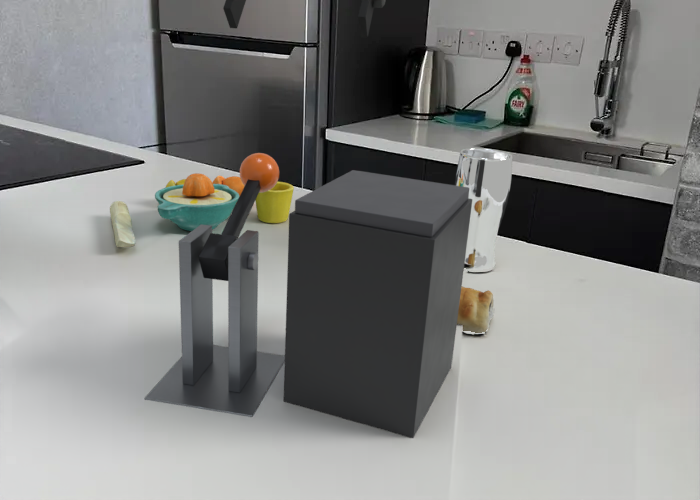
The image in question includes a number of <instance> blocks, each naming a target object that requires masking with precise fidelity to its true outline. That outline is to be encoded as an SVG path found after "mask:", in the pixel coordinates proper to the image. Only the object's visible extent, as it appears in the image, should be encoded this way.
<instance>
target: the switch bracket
mask: <svg viewBox="0 0 700 500" xmlns="http://www.w3.org/2000/svg"><path fill="white" fill-rule="evenodd" d="M210 233H213V229H212V226H210V225H200V226H198V227H197V228H196V229H194V230H193V231H189V233H188V234H185V235H184V237H182V238H180V239H179V240H178V262H179V263H178V265H179V266H178V267H179V302H180V336H181V337H180V338H181V339H180V340H181V356H180V357H179V358H178V360H177V361H176V362H175V363H174V364H173V365H172V367H171V368H169V370H168V371H167V372H166V374H164V376H163V377H162V378H161V379H160V380H159V381H158V382H157V383H156V384H155V386H154V387H153V388H152V389H151V390H150V391H149V393H148V394H147V395H146V396H145V397H144V400H145V401H151V402H157V403H163V404H170V405H175V406H182V407H186V408H187V407H188V408H193V409H194V408H195V409H199V410H204V411H205V410H206V411H213V412H218V413H224V414H229V415H235V416H241V417H248V418H253V417H254V415H255V413H256V412H257V410H258V409H259V406H260V405H261V403H262V401H263V400H264V398H265V396H266V395H267V393H268V391H269V389H270V388H271V386H272V385H273V382H274V380H275V379H276V378H277V376H278V374H279V372H280V370H281V368H282V367H283V365H284V364H285V354H278V353H271V352H270V353H269V352H265V351H258V300H259V299H258V297H259V292H258V291H259V287H258V286H259V235H260V234H259V231H258V230H251V229H247V230H245V231H244V232H243V233H242V234H240V235H239V237H238V239H237V240H236V241H235V242H233V243H232V244H231V245H230V246H229V247H228V281H227V282H228V284H227V285H228V287H227V288H228V289H227V292H228V295H227V298H228V299H227V301H228V303H227V304H228V305H227V307H228V308H227V311H228V312H227V315H228V319H227V320H228V321H227V324H228V327H227V329H228V334H227V335H228V336H227V337H228V345H227V346H226V345H225V346H224V345H217V344H216V345H215V344H214V309H213V308H214V302H213V301H214V300H213V298H214V297H213V296H214V291H213V290H214V288H213V279H208V278H204V277H203V273H202V269H201V265H200V262H199V258H198V257H199V255H200V253H201V251H202V249H203V247H204V245H205V243H206V241H207V239H208V237H209V235H210Z"/></svg>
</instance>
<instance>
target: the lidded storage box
mask: <svg viewBox="0 0 700 500" xmlns="http://www.w3.org/2000/svg"><path fill="white" fill-rule="evenodd" d="M468 196H469V188H468V187H462V186H455V184H448V183H443V182H442V183H441V182H436V181H435V182H434V181H428V180H421V179H414V178H409V177H401V176H395V175H389V174H381V173H377V172H369V171H363V170H355V169H352V170H350V171H349V172H346V173H344V174H343V175H341V176H339V177H337V178H334V179H333V180H331V181H329V182H327V183H325V184H323V185H322V186H319V187H318V188H315V189H313V190H312V191H310V192H308V193H306V194H304V195H302V196H300V197H299V198H297V199H295V200H294V201H295V203H294V210H293V211H291V212H289V216H288V243H287V270H286V271H287V275H286V276H287V277H286V304H285V305H286V306H285V307H286V308H285V309H286V312H285V341H284V355H285V362H284V371H283V372H284V374H283V403H285V404H287V403H288V404H290V405H293V406H298V407H301V408H305V409H308V410H312V411H315V412H318V413H322V414H326V415H329V416H334V417H336V418H340V419H343V420H347V421H350V422H354V423H356V424H357V423H358V424H361V425H364V426H368V427H372V428H374V429H379V430H382V431H386V432H390V433H393V434H396V435H400V436H403V437H407V438H410V439H414V438H415V436H416V434H417V433H418V431H419V429H420V427H421V425H422V424H423V422H424V419H425V417H426V416H427V415H428V412H429V410H430V408H431V406H432V404H433V403H434V400H435V399H436V397H437V395H438V393H439V391H440V390H441V387H442V386H443V384H444V382H445V380H446V378H447V376H448V375H449V373H450V371H451V369H452V365H453V359H454V357H453V356H454V350H455V340H456V334H457V333H456V332H457V327H458V326H457V325H458V324H457V318H458V310H459V302H460V294H461V287H462V285H463V278H464V271H465V270H464V263H465V255H466V247H467V239H468V231H469V223H470V215H471V207H472V199H469V198H468Z"/></svg>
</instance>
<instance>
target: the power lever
mask: <svg viewBox="0 0 700 500" xmlns="http://www.w3.org/2000/svg"><path fill="white" fill-rule="evenodd" d="M239 167H240V168H239V177H240V178H241V181H242V183H243V184H244V188H243V191H242V193H241V195H240V197H239V199H238V201H237V203H236V204H235V206H234V208H233V210H232V212H231V214H230V216H229V217H228V218H227V221H226V224H225V226H224V228H223V230H222V232H221V233H213V232H212V233H210V235H209V237H208V239H207V241H206V243H205V245H204V247H203V249H202V251H201V253H200V255H199V257H198V258H199V262H200V265H201V269H202V273H203V277H204V278H208V279H212V280H217V281H224V282H228V247H229V246H230V245H231V244H232V243H233V242H235V241H236V240H237V239H238V238H239V237H240V236H241V233H242V230H243V228H244V226H245V223H246V221H247V219H248V217H249V215H250V213H251V211H252V208H253V206H254V205H255V203H256V201H255V200H256V198H257V195H258V193H262V192H266V191H269V190H270V189H272V188H273V187H274V186H275V185H276V183H277V182H279V179H280V167H279V165H278V163H277V161H276V160H275V159H274V158H273V157H272V156H271V155H269V154H267V153H263V152H255V153H251V154H250V155H248V156H246V157H245V158H244V159H243V161H242V162H241V164H240V166H239Z"/></svg>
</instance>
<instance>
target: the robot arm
mask: <svg viewBox="0 0 700 500" xmlns="http://www.w3.org/2000/svg"><path fill="white" fill-rule="evenodd" d="M246 2H247V0H225V2H224V5H223V6H222V7H223V8H222V9H223V12H224V15H225V18H226V21H227V23H228V27H229V28H230V29H238V27H239V24H240V20H241V17H242V14H243V12H244V8H245V5H246ZM384 6H386V0H361V1H360V6H359V10H358V15H357V21H358V30H359V37H360V38H368V37H369V33H370V28H371V23H372V18H373V14H374V9H382V8H384Z"/></svg>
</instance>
